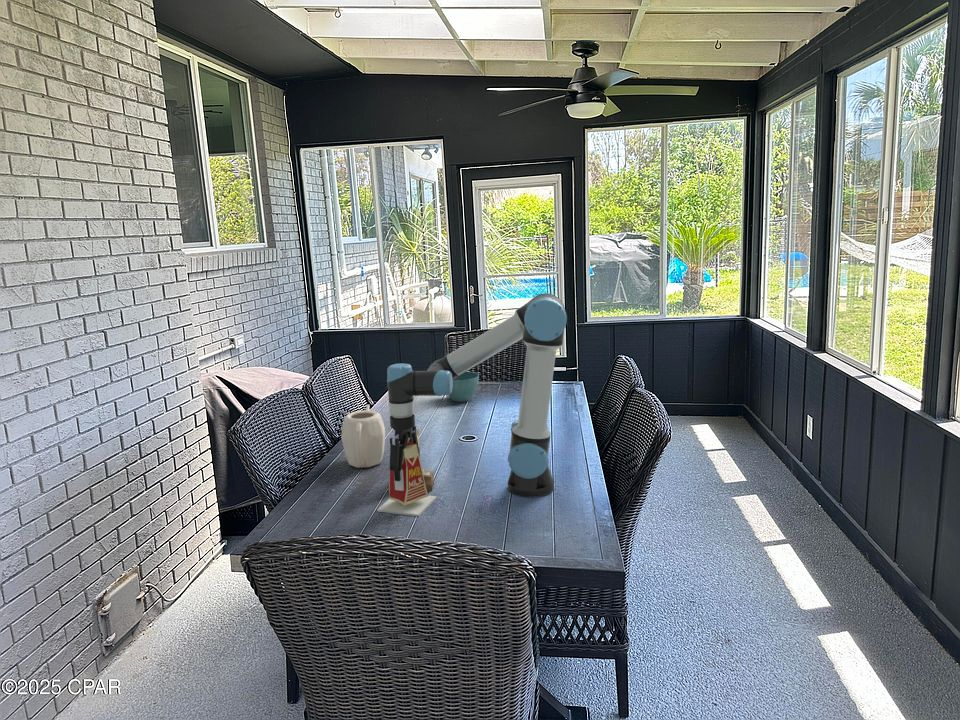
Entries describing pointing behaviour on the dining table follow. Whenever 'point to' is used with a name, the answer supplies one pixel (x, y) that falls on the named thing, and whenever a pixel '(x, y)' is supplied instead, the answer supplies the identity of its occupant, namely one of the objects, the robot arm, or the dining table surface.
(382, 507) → the mat
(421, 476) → the milk carton
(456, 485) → the dining table surface
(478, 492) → the dining table surface
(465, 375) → the teal bowl
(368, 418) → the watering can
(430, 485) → the walnut cube
